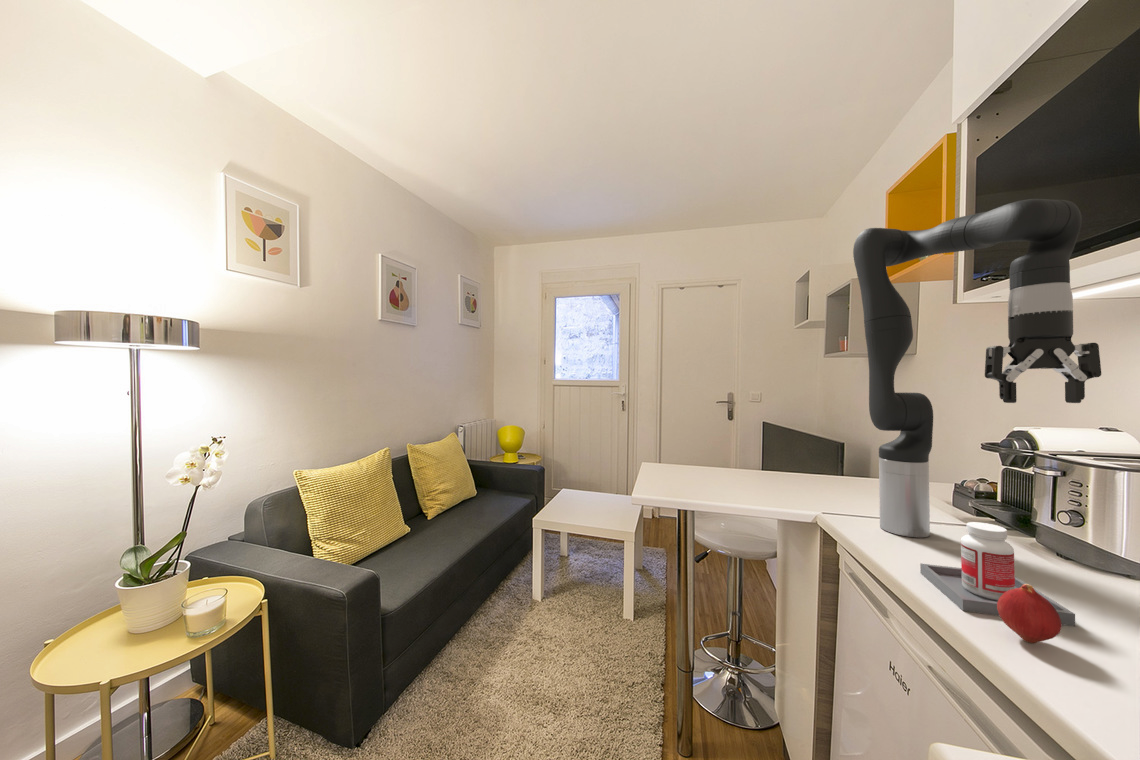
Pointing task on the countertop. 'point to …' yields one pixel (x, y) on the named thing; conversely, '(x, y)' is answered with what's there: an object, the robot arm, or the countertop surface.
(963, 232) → the robot arm
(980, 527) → the pill bottle
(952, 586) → the slate dish
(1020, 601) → the onion
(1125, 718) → the countertop surface
